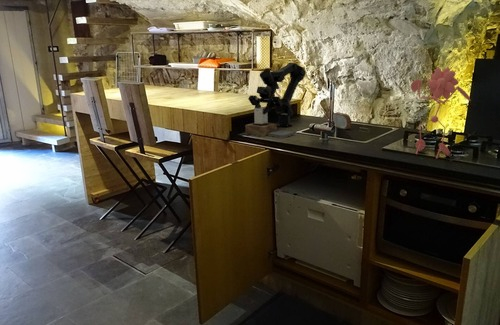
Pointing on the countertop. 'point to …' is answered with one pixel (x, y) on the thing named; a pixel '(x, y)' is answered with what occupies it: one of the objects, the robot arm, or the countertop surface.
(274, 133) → the rubber pad
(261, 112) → the steel peg
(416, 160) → the countertop surface
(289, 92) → the robot arm
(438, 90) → the figurine
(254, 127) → the brown square tray
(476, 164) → the countertop surface
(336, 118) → the tin
